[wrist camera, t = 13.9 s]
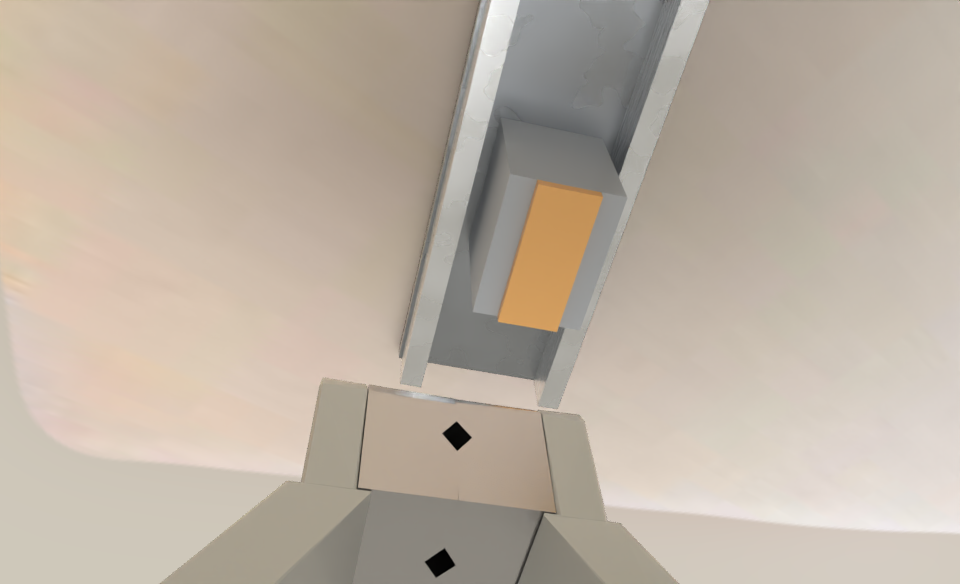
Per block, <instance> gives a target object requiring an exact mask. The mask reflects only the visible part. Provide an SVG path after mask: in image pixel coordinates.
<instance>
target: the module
mask: <svg viewBox="0 0 960 584" xmlns="http://www.w3.org/2000/svg"><path fill="white" fill-rule="evenodd" d="M627 198H628V197H627V195H626V193H625V190H624V188H623V186H622V183H621V181H620V179H619V176H618V174H617V172H616V169H615V167H614V165H613V162H612V160H611V158H610V155H609V153H608V151H607V148H606V146H605V144H604V141H603V139H601V138H596V137H591V136H586V135H582V134H577V133H572V132H567V131H563V130H558V129H553V128H548V127H544V126H539V125H534V124H529V123H525V122H520V121H515V120H510V119H506V118H501V119H500V123H499V127H498V131H497V135H496V139H495V142H494V146H493V150H492V154H491V158H490V162H489V166H488V170H487V174H486V177H485V181H484V185H483V189H482V193H481V197H480V201H479V205H478V209H477V212H476V216H475V220H474V224H473V228H472V232H471V236H470V240H469V256H470V274H471V292H472V311H473V312H476V313H482V314H488V315H494V316H497V318H498V322H502V323H507V324H513V325H519V326H525V327H531V328H536V329H542V330H548V331H554V332H557V330H558V328H559V327H563V328H569V329H575V330H580V328H581V326H582V323H583V320H584V317H585V315H586V312H587V309H588V306H589V303H590V301H591V298H592V295H593V292H594V290H595V287H596V284H597V281H598V278H599V276H600V273H601V270H602V267H603V265H604V262H605V259H606V256H607V253H608V251H609V248H610V245H611V242H612V240H613V237H614V234H615V231H616V228H617V226H618V223H619V220H620V217H621V215H622V212H623V209H624V206H625V203H626V201H627Z"/></svg>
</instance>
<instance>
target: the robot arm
mask: <svg viewBox="0 0 960 584" xmlns="http://www.w3.org/2000/svg"><path fill="white" fill-rule="evenodd" d="M160 584H679V583H678V582H677V581H676V580H675V579H674V578H673V577H672V576H671V575H670V574H669V573H668V572H667V571H666V570H665V569H664V568H663V567H662V566H661V565H660V563H659V562H657V560H656V559H655V558H654V557H653V556H652V555H651V554H650V553H649V552H648V551H647V550H646V549H645V548H644V547H643V546H642V545H641V544H640V543H639V542H638V541H637V540H636V539H635V538H634V537H633V536H632V535H631V534H630V533H629V532H628V531H627V529H626V528H625V527H624V526H622V524H621V523H616V522H609V521H607V516H606V512H605V508H604V503H603V499H602V494H601V490H600V486H599V481H598V477H597V473H596V468H595V464H594V460H593V455H592V451H591V447H590V442H589V438H588V433H587V429H586V425H585V421H584V420H583V418H582V417H581V416H580V415H576V414H568V413H559V412H551V411H543V410H538V411H534V410H527V409H520V408H512V407H505V406H498V405H491V404H484V403H477V402H470V401H463V400H456V399H452V398H446V397H440V396H434V395H428V394H422V393H416V392H410V391H404V390H399V389H393V388H387V387H381V386H375V385H368V389H367V386H366V384H360V383H354V382H347V381H341V380H335V379H329V378H323V379H322V381H321V384H320V386H319V391H318V397H317V402H316V407H315V412H314V417H313V422H312V428H311V433H310V438H309V443H308V448H307V453H306V458H305V464H304V469H303V474H302V479H301V482H294V481H286V482H285V483H284V484H282V485H281V486H280V487H279V488H277V489H276V490H275V491H274V492H272V493H271V494H270V495H269V496H267V497H266V498H265V499H264V500H262V501H261V502H260V503H259V504H258V505H256V506H255V507H254V508H253V509H251V510H250V511H249V512H248V513H246V514H245V515H244V516H243V517H242V518H240V519H239V520H238V521H237V522H235V523H234V524H233V525H232V526H230V527H229V528H228V529H227V530H225V531H224V532H223V533H222V534H220V535H219V536H218V537H217V538H215V539H214V540H213V541H212V542H211V543H209V544H208V545H207V546H206V547H204V548H203V549H202V550H201V551H200V552H198V553H197V554H196V555H194V556H193V557H192V558H191V559H190V560H188V561H187V562H186V563H185V564H184V565H182V566H181V567H180V568H178V569H177V570H176V571H175V572H173V573H172V574H171V575H170V576H169V577H167V578H166V579H165V580H164V581H162V582H161V583H160Z"/></svg>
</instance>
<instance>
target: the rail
mask: <svg viewBox="0 0 960 584" xmlns="http://www.w3.org/2000/svg"><path fill="white" fill-rule="evenodd" d="M709 1H710V0H480V1H479V6H478V10H477V14H476V19H475V23H474V27H473V32H472V36H471V40H470V45H469V49H468V53H467V58H466V62H465V66H464V71H463V75H462V79H461V84H460V88H459V92H458V97H457V101H456V105H455V110H454V114H453V118H452V123H451V127H450V131H449V136H448V140H447V144H446V149H445V153H444V157H443V162H442V166H441V170H440V175H439V179H438V183H437V188H436V192H435V196H434V201H433V205H432V209H431V214H430V218H429V222H428V227H427V231H426V235H425V240H424V244H423V248H422V253H421V257H420V261H419V266H418V270H417V274H416V279H415V283H414V287H413V291H412V296H411V300H410V304H409V309H408V313H407V317H406V322H405V326H404V330H403V335H402V339H401V343H400V348H399V358H402V362H401V377H400V384H404V385H410V386H417V387H421V385H422V381H423V378H424V374H425V370H426V366H427V362H428V363H434V364H440V365H446V366H452V367H458V368H464V369H470V370H476V371H482V372H488V373H494V374H500V375H506V376H512V377H519V378H525V379H531V380H534V385H535V392H536V399H537V405H538V406H541V407H547V408H553V409H558V407H559V404H560V401H561V399H562V396H563V393H564V390H565V388H566V385H567V382H568V380H569V377H570V374H571V372H572V369H573V366H574V364H575V361H576V358H577V356H578V353H579V350H580V347H581V345H582V342H583V339H584V337H585V334H586V331H587V329H588V326H589V323H590V321H591V318H592V315H593V313H594V310H595V307H596V304H597V302H598V299H599V296H600V294H601V291H602V288H603V286H604V283H605V280H606V278H607V275H608V272H609V270H610V267H611V264H612V261H613V259H614V256H615V253H616V251H617V248H618V245H619V243H620V240H621V237H622V235H623V232H624V229H625V227H626V224H627V221H628V218H629V216H630V213H631V210H632V208H633V205H634V202H635V200H636V197H637V194H638V192H639V189H640V186H641V184H642V181H643V178H644V175H645V173H646V170H647V167H648V165H649V162H650V159H651V157H652V154H653V151H654V149H655V146H656V143H657V140H658V138H659V135H660V132H661V130H662V127H663V124H664V122H665V119H666V116H667V114H668V111H669V108H670V106H671V103H672V100H673V97H674V95H675V92H676V89H677V87H678V84H679V81H680V79H681V76H682V73H683V71H684V68H685V65H686V63H687V60H688V57H689V54H690V52H691V49H692V46H693V44H694V41H695V38H696V36H697V33H698V30H699V28H700V25H701V22H702V20H703V17H704V14H705V11H706V9H707V6H708V3H709ZM501 118H506V119H510V120H515V121H520V122H525V123H529V124H534V125H539V126H544V127H548V128H553V129H558V130H563V131H567V132H572V133H577V134H582V135H586V136H591V137H596V138H601V139H603V141H604V144H605V146H606V148H607V151H608V153H609V155H610V158H611V160H612V162H613V165H614V167H615V169H616V172H617V174H618V176H619V179H620V181H621V183H622V186H623V188H624V190H625V193H626V195H627V197H628V198H627V201H626V203H625V206H624V209H623V212H622V215H621V217H620V220H619V223H618V226H617V228H616V231H615V234H614V237H613V240H612V242H611V245H610V248H609V251H608V253H607V256H606V259H605V262H604V265H603V267H602V270H601V273H600V276H599V278H598V281H597V284H596V287H595V290H594V292H593V295H592V298H591V301H590V303H589V306H588V309H587V312H586V315H585V317H584V320H583V323H582V326H581V328H580V330H575V329H569V328H563V327H559V328H558V330H557V332H554V331H548V330H542V329H536V328H531V327H525V326H519V325H513V324H507V323H502V322H498V318H497V316H494V315H488V314H482V313H476V312H473V311H472V292H471V274H470V256H469V240H470V236H471V232H472V228H473V224H474V220H475V216H476V212H477V209H478V205H479V201H480V197H481V193H482V189H483V185H484V181H485V177H486V174H487V170H488V166H489V162H490V158H491V154H492V150H493V146H494V142H495V139H496V135H497V131H498V127H499V123H500V119H501Z"/></svg>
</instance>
